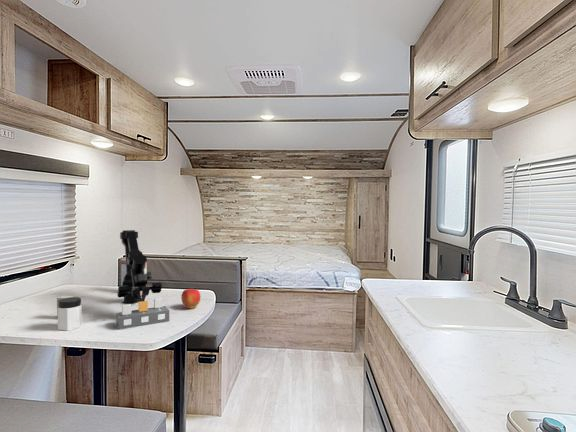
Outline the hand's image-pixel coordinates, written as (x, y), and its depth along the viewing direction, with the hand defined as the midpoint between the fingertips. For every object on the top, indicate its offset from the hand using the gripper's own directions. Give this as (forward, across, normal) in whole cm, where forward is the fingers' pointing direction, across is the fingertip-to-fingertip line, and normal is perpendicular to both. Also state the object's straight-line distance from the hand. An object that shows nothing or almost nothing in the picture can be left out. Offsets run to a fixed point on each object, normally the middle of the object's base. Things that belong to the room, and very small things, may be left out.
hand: (142, 305), depth 156 cm
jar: (0, -28, +11) cm, 30 cm away
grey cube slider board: (+6, 0, +4) cm, 8 cm away
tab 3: (+1, +7, +2) cm, 7 cm away
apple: (-1, +25, +12) cm, 28 cm away
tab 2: (+2, 0, +1) cm, 2 cm away
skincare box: (-11, -29, +22) cm, 38 cm away
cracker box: (-32, +5, +43) cm, 53 cm away
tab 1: (+3, -7, 0) cm, 8 cm away
